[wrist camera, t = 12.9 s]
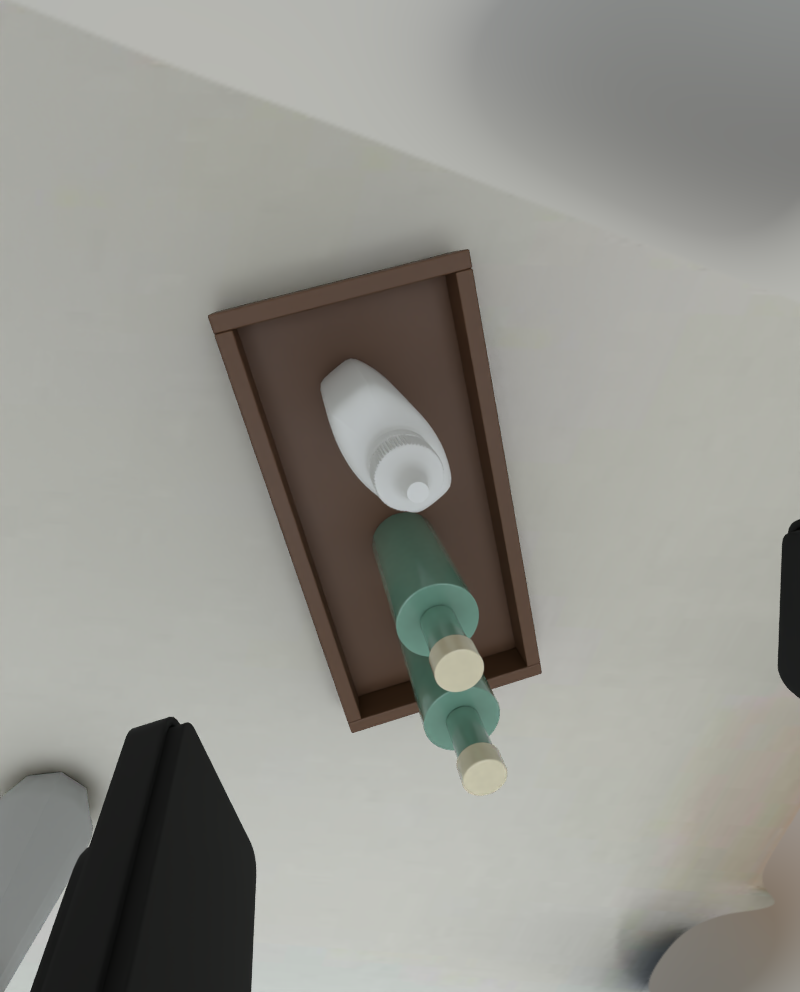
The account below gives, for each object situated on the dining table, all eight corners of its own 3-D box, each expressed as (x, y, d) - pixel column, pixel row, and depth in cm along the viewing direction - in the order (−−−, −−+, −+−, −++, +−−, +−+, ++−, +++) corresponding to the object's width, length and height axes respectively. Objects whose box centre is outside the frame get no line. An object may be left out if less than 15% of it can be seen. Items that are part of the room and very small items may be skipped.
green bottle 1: (364, 522, 31) (401, 646, 21) (428, 503, 31) (498, 617, 21) (380, 579, 33) (423, 723, 22) (442, 561, 33) (513, 694, 22)
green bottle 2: (388, 607, 33) (433, 759, 23) (448, 589, 34) (520, 731, 23) (402, 657, 35) (451, 823, 24) (460, 640, 35) (533, 796, 24)
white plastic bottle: (337, 473, 30) (365, 586, 19) (314, 363, 28) (330, 418, 17) (420, 455, 30) (494, 556, 19) (403, 346, 28) (476, 390, 17)
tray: (214, 312, 27) (207, 315, 25) (453, 251, 28) (469, 248, 25) (347, 703, 36) (351, 734, 33) (525, 647, 37) (542, 673, 34)
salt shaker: (123, 807, 36) (38, 1076, 24) (39, 849, 36) (-88, 1140, 24) (63, 744, 33) (-66, 1006, 21) (-27, 789, 33) (-206, 1076, 21)
